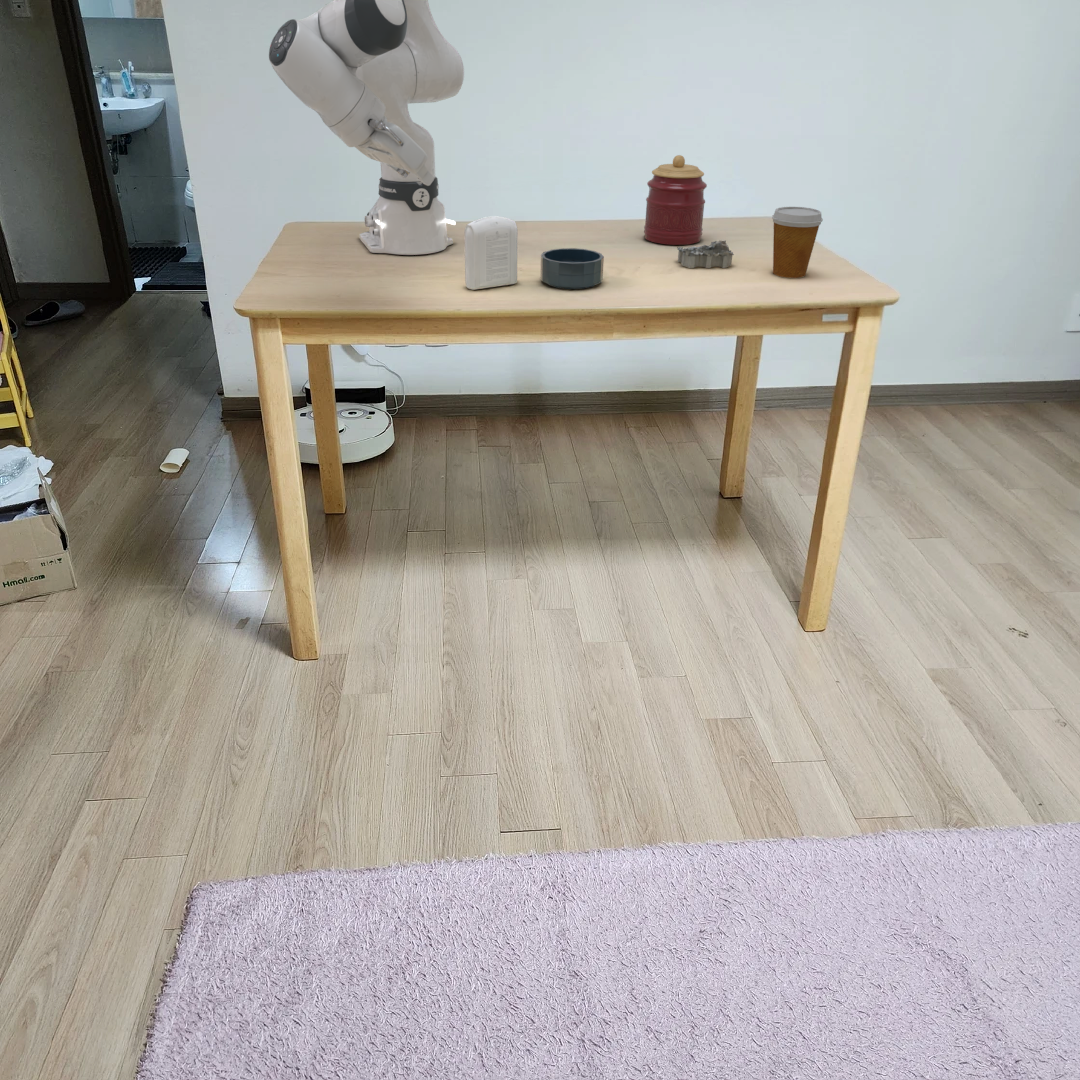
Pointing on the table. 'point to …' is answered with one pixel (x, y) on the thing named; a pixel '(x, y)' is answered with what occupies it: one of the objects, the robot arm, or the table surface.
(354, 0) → the robot arm
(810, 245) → the disposable coffee cup
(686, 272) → the table surface
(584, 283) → the bowl
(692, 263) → the grey packaging insert
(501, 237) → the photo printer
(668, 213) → the kitchen canister
